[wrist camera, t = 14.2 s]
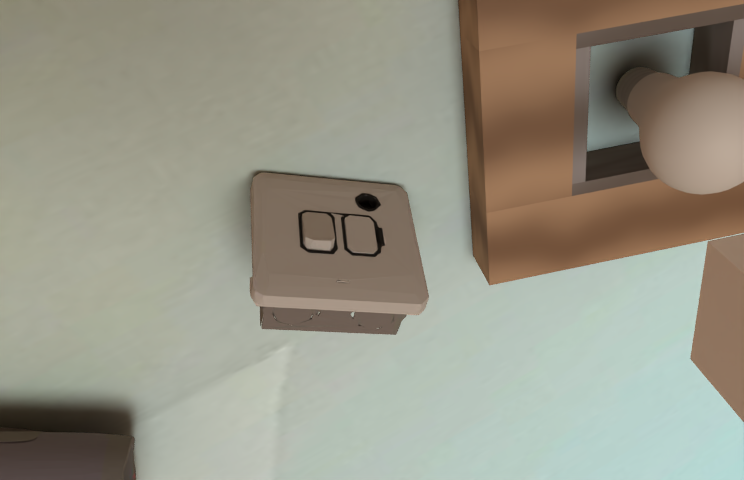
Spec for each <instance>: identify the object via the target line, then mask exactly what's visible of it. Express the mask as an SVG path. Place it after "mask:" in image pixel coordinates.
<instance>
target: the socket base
mask: <svg viewBox="0 0 744 480" xmlns="http://www.w3.org/2000/svg"><path fill="white" fill-rule="evenodd" d="M458 3H459V20H460V37H461V54H462V71H463V89H464V106H465V123H466V140H467V158H468V175H469V192H470V209H471V226H472V244H473V256H474V258H475V260H476V262H477V263H478V265H479V267H480V269H481V271H482V272H483V274H484V276H485V278H486V280H487V281H488V283H489V285H493V284H498V283H503V282H508V281H513V280H517V279H522V278H527V277H532V276H537V275H541V274H546V273H551V272H556V271H561V270H566V269H570V268H575V267H580V266H585V265H590V264H595V263H599V262H604V261H609V260H614V259H619V258H624V257H628V256H633V255H638V254H643V253H648V252H653V251H657V250H662V249H667V248H672V247H677V246H682V245H686V244H691V243H696V242H701V241H706V240H711V239H715V238H720V237H725V236H730V235H735V234H740V233H744V182H742V183H741V184H739V185H737V186H735V187H733V188H731V189H728V190H726V191H722V192H719V193H712V194H703V195H701V194H691V193H686V192H683V191H680V190H677V189H674V188H672V187H670V186H668V185H667V184H665V183H663V182H662V181H661V180H660V179H658V178H657V177H656V176H655V175H654V174H653V173H652V171H651V170H650V168H649V167H648V165H647V163H646V161H645V159H644V157H643V155H642V151H641V147H640V142H636V143H631V144H626V145H621V146H616V147H611V148H605V149H600V150H595V151H590V152H587V128H588V103H589V78H590V53H591V46H596V45H601V44H607V43H612V42H618V41H623V40H629V39H634V38H640V37H645V36H651V35H657V34H662V33H668V32H673V31H679V30H684V29H690V28H695V31H694V40H693V48H692V57H691V65H690V74H694V73H699V72H708V71H713V72H721V73H728V74H732V75H735V76H737V77H740V78H742V79H744V0H458ZM690 74H689V75H690Z"/></svg>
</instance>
